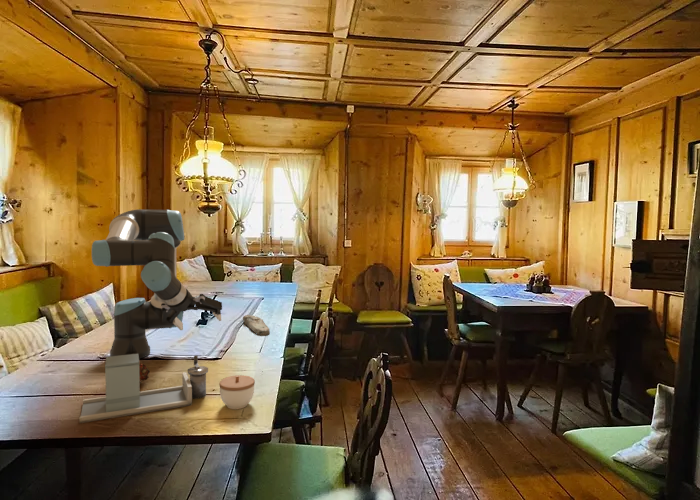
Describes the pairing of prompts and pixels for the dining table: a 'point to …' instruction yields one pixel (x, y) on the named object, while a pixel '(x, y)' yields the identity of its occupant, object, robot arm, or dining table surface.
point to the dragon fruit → (143, 372)
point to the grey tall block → (122, 382)
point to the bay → (141, 402)
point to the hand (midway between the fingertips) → (201, 322)
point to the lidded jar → (237, 391)
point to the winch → (198, 379)
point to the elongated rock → (256, 324)
